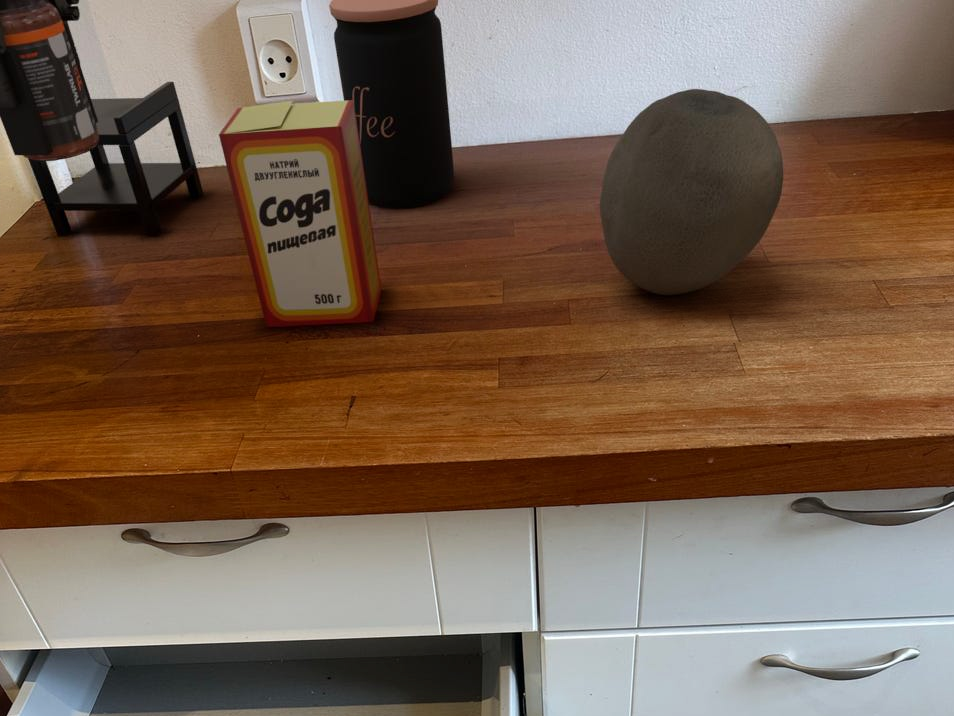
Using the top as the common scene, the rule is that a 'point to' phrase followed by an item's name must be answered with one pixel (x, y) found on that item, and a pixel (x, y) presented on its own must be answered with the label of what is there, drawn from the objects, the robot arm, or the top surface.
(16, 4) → the supplement bottle
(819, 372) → the top surface
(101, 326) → the top surface
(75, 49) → the robot arm
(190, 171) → the rack
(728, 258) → the dark grey oval lump
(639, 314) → the top surface
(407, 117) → the coffee jar
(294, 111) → the baking soda box
